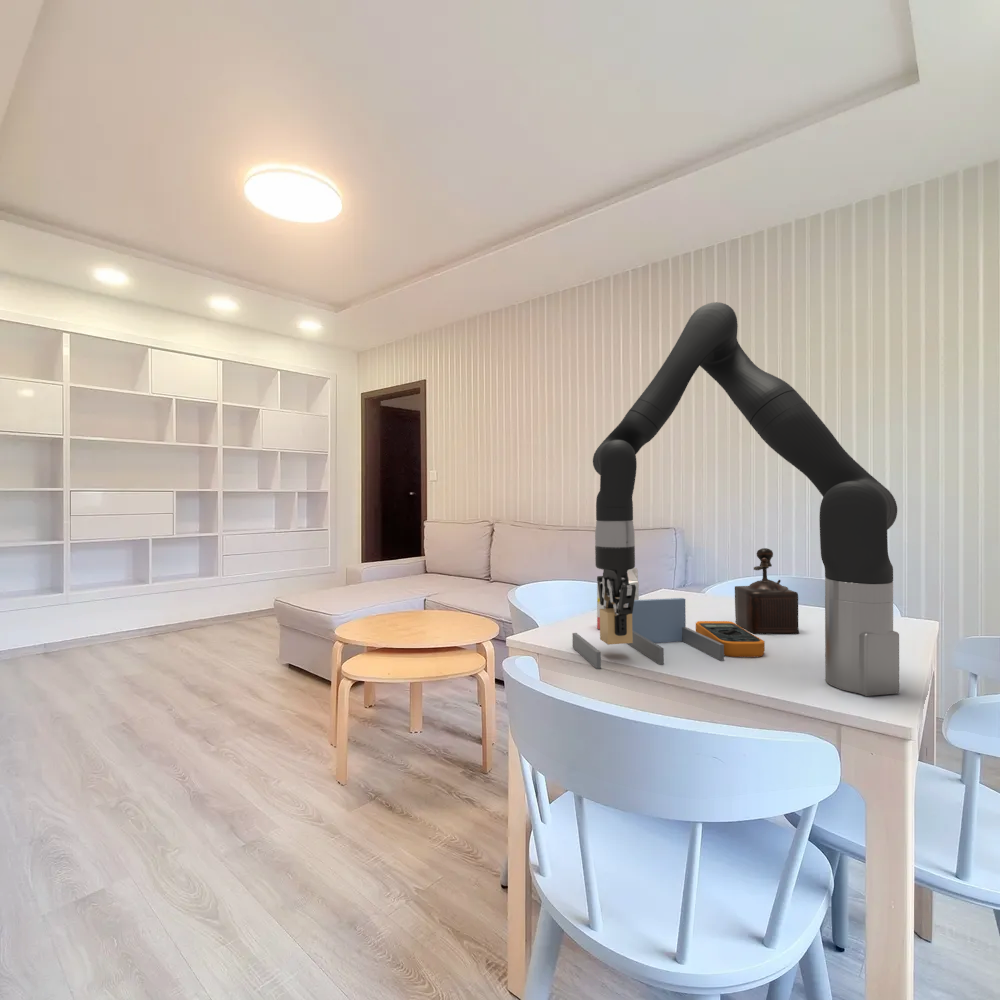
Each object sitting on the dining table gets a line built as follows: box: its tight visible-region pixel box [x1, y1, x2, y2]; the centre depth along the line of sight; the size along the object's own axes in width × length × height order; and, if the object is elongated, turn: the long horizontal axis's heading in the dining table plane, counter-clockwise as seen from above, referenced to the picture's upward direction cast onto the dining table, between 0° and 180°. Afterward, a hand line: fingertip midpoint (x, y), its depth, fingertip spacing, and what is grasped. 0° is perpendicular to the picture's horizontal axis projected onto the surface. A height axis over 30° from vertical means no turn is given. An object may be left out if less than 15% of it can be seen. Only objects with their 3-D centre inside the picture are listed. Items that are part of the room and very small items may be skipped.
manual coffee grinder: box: [734, 547, 800, 635], centre depth 128 cm, size 16×11×18 cm
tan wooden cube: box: [599, 608, 633, 646], centre depth 105 cm, size 4×5×6 cm
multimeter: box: [695, 620, 766, 658], centre depth 112 cm, size 9×18×3 cm, turn 178°
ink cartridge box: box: [596, 567, 640, 630], centre depth 125 cm, size 9×5×15 cm, turn 47°
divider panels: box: [572, 597, 725, 670], centre depth 107 cm, size 15×25×9 cm, turn 100°
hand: (615, 631), depth 105 cm, fingers closed on tan wooden cube, 4 cm apart
